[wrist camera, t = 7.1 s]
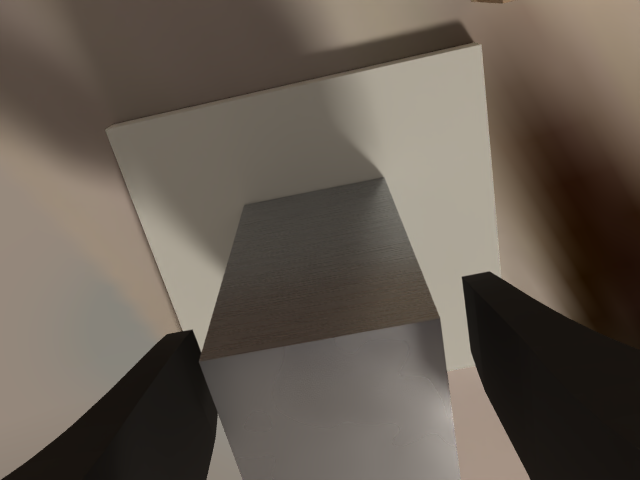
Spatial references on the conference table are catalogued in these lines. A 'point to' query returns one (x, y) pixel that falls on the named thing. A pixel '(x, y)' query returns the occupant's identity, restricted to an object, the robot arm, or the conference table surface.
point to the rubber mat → (323, 173)
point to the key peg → (329, 344)
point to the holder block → (493, 1)
